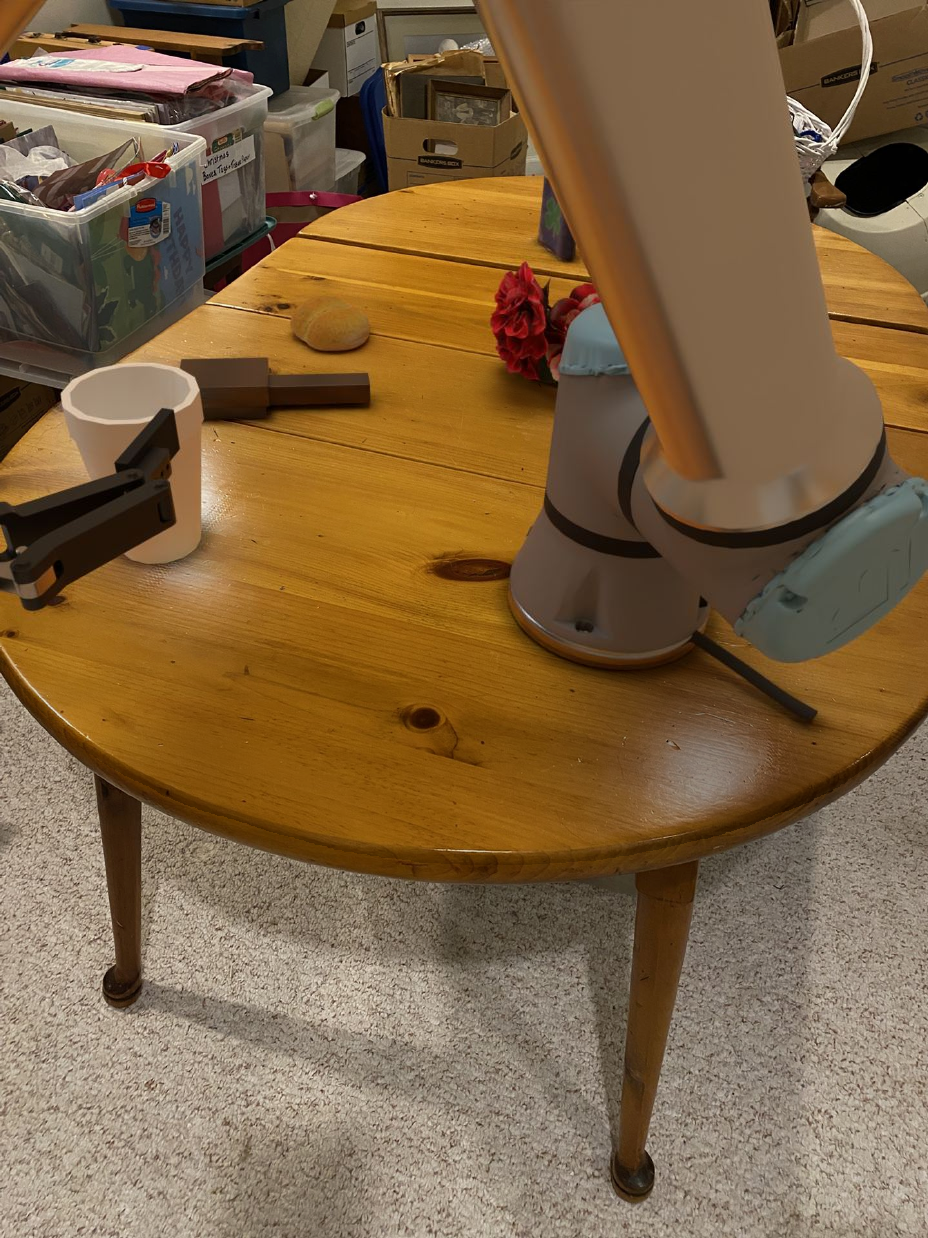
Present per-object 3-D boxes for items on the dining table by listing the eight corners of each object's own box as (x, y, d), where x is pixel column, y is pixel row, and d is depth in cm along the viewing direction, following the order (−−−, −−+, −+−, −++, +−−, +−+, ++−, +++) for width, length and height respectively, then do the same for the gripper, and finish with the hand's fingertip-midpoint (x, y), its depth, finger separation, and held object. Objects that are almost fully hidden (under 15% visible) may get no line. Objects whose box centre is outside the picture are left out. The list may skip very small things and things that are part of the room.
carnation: (606, 356, 122) (562, 476, 95) (512, 247, 117) (438, 341, 90) (704, 276, 113) (686, 384, 86) (607, 154, 108) (556, 228, 81)
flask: (534, 239, 133) (542, 159, 126) (552, 238, 134) (562, 158, 127) (561, 262, 126) (571, 179, 119) (580, 261, 127) (592, 178, 120)
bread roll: (325, 360, 100) (323, 324, 97) (280, 331, 105) (278, 296, 102) (386, 342, 104) (386, 307, 102) (340, 315, 109) (339, 281, 107)
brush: (367, 387, 96) (366, 355, 93) (372, 416, 91) (371, 383, 89) (186, 392, 93) (181, 358, 91) (181, 422, 88) (176, 387, 86)
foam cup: (230, 563, 72) (208, 414, 64) (106, 586, 69) (66, 433, 61) (208, 499, 79) (186, 355, 70) (94, 517, 76) (57, 370, 67)
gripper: (-378, 658, 44) (-104, 441, 60) (118, 739, 42) (265, 493, 58) (-471, 530, 39) (-146, 331, 55) (84, 615, 37) (255, 383, 53)
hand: (65, 413), depth 57 cm, fingers open, 13 cm apart
